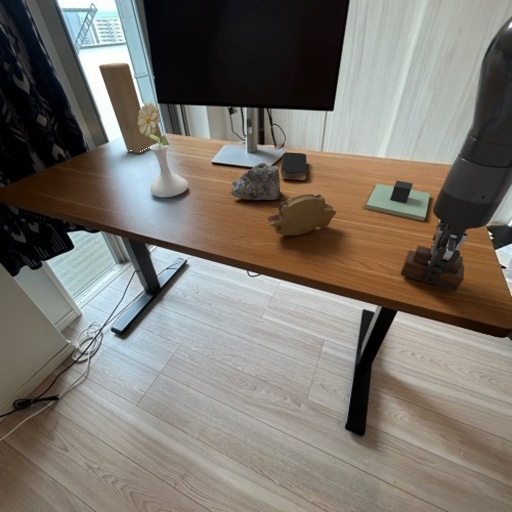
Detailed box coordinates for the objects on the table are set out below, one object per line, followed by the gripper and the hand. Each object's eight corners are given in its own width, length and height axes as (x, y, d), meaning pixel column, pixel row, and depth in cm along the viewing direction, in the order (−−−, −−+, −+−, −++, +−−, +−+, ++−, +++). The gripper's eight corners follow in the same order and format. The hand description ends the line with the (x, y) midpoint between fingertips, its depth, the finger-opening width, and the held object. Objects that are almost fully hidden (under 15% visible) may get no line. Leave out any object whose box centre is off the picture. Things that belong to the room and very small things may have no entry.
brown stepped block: (456, 278, 50) (470, 255, 46) (455, 292, 47) (470, 269, 44) (403, 263, 54) (412, 240, 50) (400, 275, 51) (409, 252, 48)
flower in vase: (147, 190, 85) (118, 100, 68) (181, 180, 89) (161, 94, 73) (159, 207, 76) (129, 108, 60) (197, 195, 80) (178, 101, 64)
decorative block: (141, 154, 110) (113, 65, 91) (127, 152, 113) (97, 65, 93) (164, 142, 121) (143, 60, 101) (150, 141, 123) (128, 60, 104)
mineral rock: (229, 200, 78) (226, 166, 71) (247, 185, 85) (245, 153, 78) (270, 209, 73) (270, 174, 66) (285, 192, 80) (286, 159, 74)
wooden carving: (324, 219, 68) (329, 182, 62) (334, 228, 65) (341, 190, 59) (264, 235, 64) (264, 197, 57) (273, 246, 61) (273, 207, 54)
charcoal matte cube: (408, 197, 73) (413, 183, 70) (405, 203, 70) (411, 189, 68) (392, 193, 75) (396, 180, 72) (389, 200, 72) (394, 186, 69)
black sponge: (282, 162, 98) (282, 152, 96) (306, 162, 97) (306, 152, 95) (279, 181, 86) (280, 170, 84) (306, 182, 85) (307, 171, 83)
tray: (428, 197, 75) (430, 193, 74) (423, 221, 66) (425, 217, 65) (376, 187, 81) (377, 183, 80) (365, 208, 72) (366, 204, 71)
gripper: (509, 218, 33) (450, 307, 44) (501, 174, 42) (454, 258, 53) (439, 204, 36) (400, 291, 47) (446, 167, 45) (412, 247, 56)
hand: (429, 273), depth 50 cm, fingers closed on brown stepped block, 4 cm apart
